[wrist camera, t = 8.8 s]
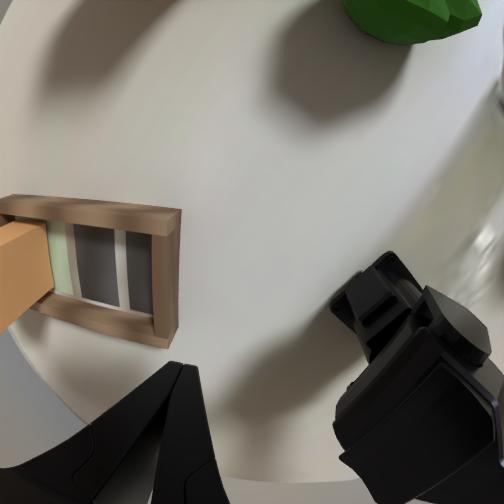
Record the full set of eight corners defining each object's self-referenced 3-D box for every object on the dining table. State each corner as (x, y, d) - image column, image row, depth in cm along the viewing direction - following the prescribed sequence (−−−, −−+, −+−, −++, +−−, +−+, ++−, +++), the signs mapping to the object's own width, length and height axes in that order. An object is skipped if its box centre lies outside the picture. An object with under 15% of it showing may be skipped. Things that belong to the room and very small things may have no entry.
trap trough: (181, 209, 19) (167, 220, 17) (178, 327, 23) (168, 349, 20) (13, 194, 20) (-8, 201, 17) (26, 286, 23) (9, 300, 20)
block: (45, 223, 19) (-32, 265, 11) (54, 286, 21) (-8, 341, 13) (18, 219, 19) (-54, 255, 11) (27, 278, 21) (-32, 325, 13)
